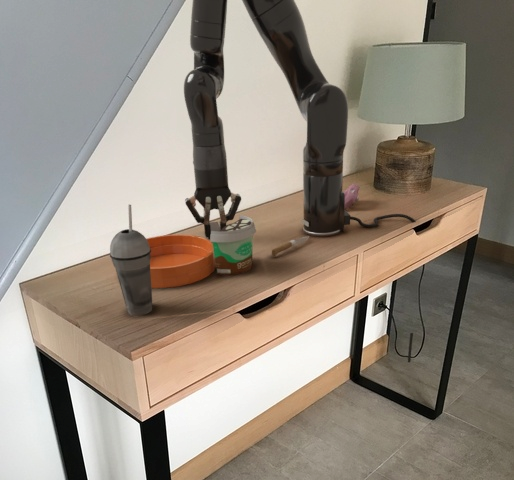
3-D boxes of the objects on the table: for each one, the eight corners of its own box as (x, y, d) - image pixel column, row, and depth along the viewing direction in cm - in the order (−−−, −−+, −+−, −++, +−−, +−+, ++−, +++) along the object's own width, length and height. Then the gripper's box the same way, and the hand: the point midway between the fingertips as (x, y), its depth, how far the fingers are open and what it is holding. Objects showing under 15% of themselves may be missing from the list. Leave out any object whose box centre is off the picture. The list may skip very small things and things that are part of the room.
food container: (239, 283, 117) (235, 235, 112) (213, 278, 120) (209, 231, 115) (267, 262, 126) (266, 217, 121) (243, 258, 129) (240, 214, 124)
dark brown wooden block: (223, 231, 146) (222, 221, 145) (230, 250, 134) (229, 239, 132) (204, 233, 146) (203, 223, 144) (209, 252, 133) (208, 242, 132)
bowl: (211, 249, 135) (209, 230, 133) (220, 283, 117) (219, 262, 115) (123, 258, 132) (120, 239, 130) (120, 294, 115) (116, 273, 113)
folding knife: (306, 239, 137) (306, 231, 136) (312, 241, 136) (312, 233, 135) (269, 257, 129) (269, 248, 128) (274, 258, 128) (274, 250, 127)
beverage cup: (122, 304, 111) (104, 200, 101) (161, 301, 111) (145, 197, 101) (118, 321, 105) (97, 213, 95) (158, 318, 105) (142, 209, 95)
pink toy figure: (349, 217, 155) (362, 194, 152) (334, 209, 155) (346, 186, 152) (351, 206, 164) (363, 184, 160) (337, 199, 164) (349, 176, 160)
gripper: (180, 170, 127) (188, 246, 136) (243, 165, 129) (247, 240, 137) (178, 163, 133) (186, 235, 142) (238, 158, 135) (242, 230, 144)
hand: (216, 237), depth 140 cm, fingers closed on dark brown wooden block, 2 cm apart
